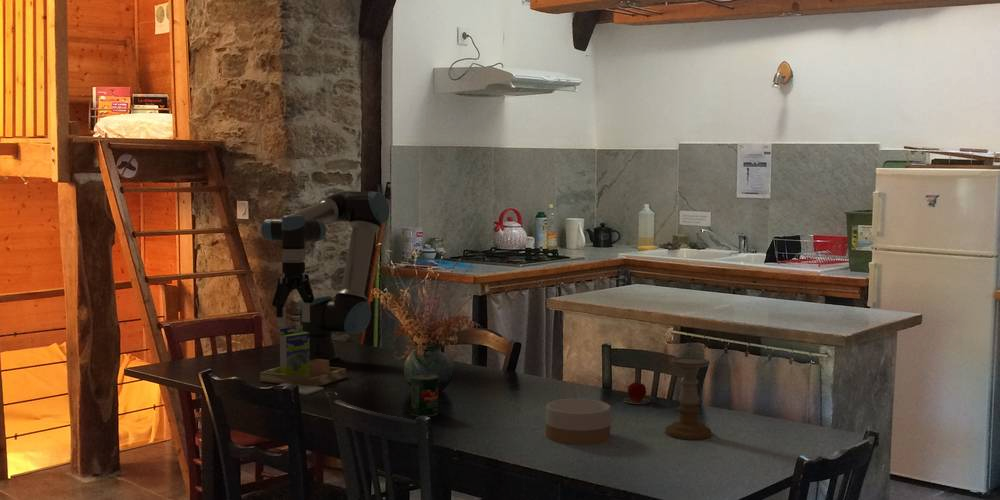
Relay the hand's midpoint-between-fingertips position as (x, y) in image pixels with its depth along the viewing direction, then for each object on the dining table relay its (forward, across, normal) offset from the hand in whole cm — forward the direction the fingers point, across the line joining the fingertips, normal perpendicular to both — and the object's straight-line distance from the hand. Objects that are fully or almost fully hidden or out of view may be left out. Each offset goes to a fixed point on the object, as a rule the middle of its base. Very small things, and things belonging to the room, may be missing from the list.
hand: (293, 324), depth 346 cm
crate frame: (+18, 0, +4) cm, 19 cm away
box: (+19, 0, 0) cm, 19 cm away
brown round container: (+19, +28, +112) cm, 117 cm away
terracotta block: (+18, 0, +10) cm, 21 cm away
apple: (+18, -18, +114) cm, 117 cm away
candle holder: (+19, +12, +138) cm, 140 cm away
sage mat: (+18, +14, +11) cm, 26 cm away
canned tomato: (+19, +24, +64) cm, 70 cm away
